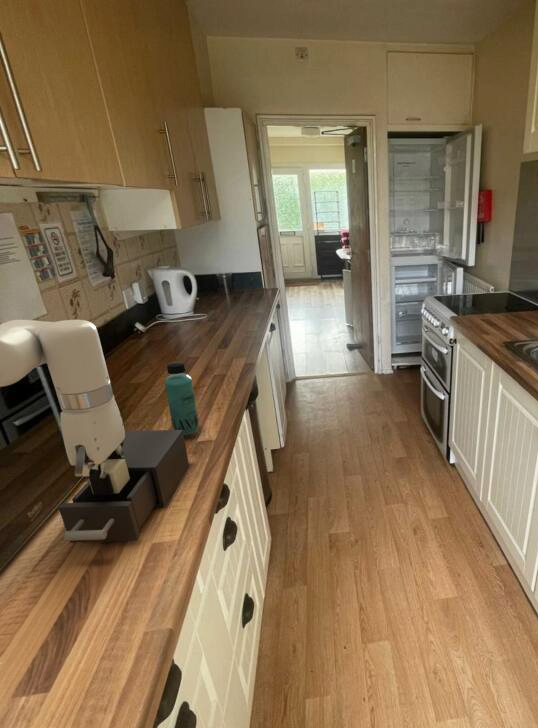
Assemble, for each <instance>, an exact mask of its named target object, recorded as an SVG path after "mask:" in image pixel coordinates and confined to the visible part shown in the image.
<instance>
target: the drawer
mask: <svg viewBox="0 0 538 728" xmlns="http://www.w3.org/2000/svg"><path fill="white" fill-rule="evenodd" d="M128 473H129V477H130V479H129V481H128V482H127V483H126V484H125V486H124V487H123V488H122V489H121V491H120V492H119V493H113V494H112V495H94V494H93V492H92V489H91V486H90V482H89V480H88V481H87V482H86V483H85V484H84V485H83V486H82V488H80V489H79V490H78V491H77V493H76V494H75V495H74V496H73V497H72V498H71V500H72V502H62V503H61V504H60V505H59V506H58V510H59V514H60V517H61V519H62V522H63V525H64V529H65V533H64V535H63V540H64V541H66V542H67V541H69V543H70V544H72V543H73V544H74V543H75V544H76V543H77V544H78V543H106V542H107V543H108V542H136V541H137V542H138V540H139V539H140V537H141V534H140V529H141V528H142V526H143V525H144V523H145V521H146V520H147V518H148V517H149V515H150V513H152V510H153V509H154V508H155V507H154V506H155V504H156V502H157V501H158V494H157V490H156V485H155V481H154V477H153V472H152V471H128Z"/></svg>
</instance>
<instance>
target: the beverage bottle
mask: <svg viewBox="0 0 538 728" xmlns="http://www.w3.org/2000/svg"><path fill="white" fill-rule="evenodd" d="M166 368H167V370H166V371H167V374H169V376H168V377H167V378H166V379H165V380H164V385H165V391H166V397H167V401H168V410H169V416H170V422H171V428H172V430H183V435H184V436H189V435H192V434H194V433H196V432H198V431H199V428H200V423H199V421H200V420H199V414H198V409H197V405H196V404H197V403H196V397H195V395H196V394H195V392H194V386H193V378H192V377H191V376H190V375H188V374H186V373H185V372H187V368H186V365H185V362H183V361H171V362H169V363H168V364H167V365H166Z"/></svg>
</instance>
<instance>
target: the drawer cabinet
mask: <svg viewBox="0 0 538 728" xmlns="http://www.w3.org/2000/svg"><path fill="white" fill-rule="evenodd" d="M123 443H124V444H123V448H122V449H123V451H124V457H121V458H124V459H125V461H126V465H127V469H128V471H152V472H153V477H154V481H155V485H156V490H157V494H158V501H157V502H156V504H155V506H154V507H153V508H165V507H166V505H167V503H168V502H169V501H170V498H171V497H172V495H173V493H174V492H175V491H176V488H177V487H178V485H179V484H180V482H181V480H182V479H183V477H184V475H185V474H186V472H187V471H188V469H189V467H190V462H189V458H188V451H187V445H186V441H185V435H183V430H173V429H165V430H164V429H160V430H159V429H156V430H155V429H154V430H153V429H151V430H150V429H149V430H148V429H145V430H125V438H124V440H123ZM94 466H95V465H92V468H93V467H94Z"/></svg>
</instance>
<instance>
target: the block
mask: <svg viewBox="0 0 538 728" xmlns="http://www.w3.org/2000/svg"><path fill="white" fill-rule="evenodd" d="M92 469H96V470H98V465H95V466H94V467H93V468H92ZM105 469H106V475H109V476H110V480H111V483H112V487H113V490H114V493H119V492H120V491H121V489H122V488H123V487H124V486H125V484H126V483H127V482H128V481H129V479H130V477H129V473H128V469H127V465H126V461H125V459H106V460H105ZM88 481H89V480H88ZM89 482H90V481H89ZM90 486H91V484H90ZM91 489H92V487H91ZM92 492H93V490H92Z"/></svg>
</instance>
